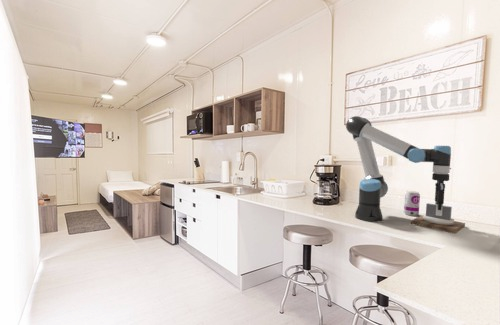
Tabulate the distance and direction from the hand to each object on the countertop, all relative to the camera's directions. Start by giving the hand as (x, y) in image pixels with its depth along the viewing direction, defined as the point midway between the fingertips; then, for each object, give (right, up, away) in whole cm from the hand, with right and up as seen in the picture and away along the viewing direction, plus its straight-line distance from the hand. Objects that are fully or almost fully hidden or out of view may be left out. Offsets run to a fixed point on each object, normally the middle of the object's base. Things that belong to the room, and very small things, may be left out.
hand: (438, 214), depth 141 cm
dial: (0, -4, 0) cm, 4 cm away
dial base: (0, -6, 0) cm, 6 cm away
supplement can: (0, -5, +23) cm, 24 cm away
